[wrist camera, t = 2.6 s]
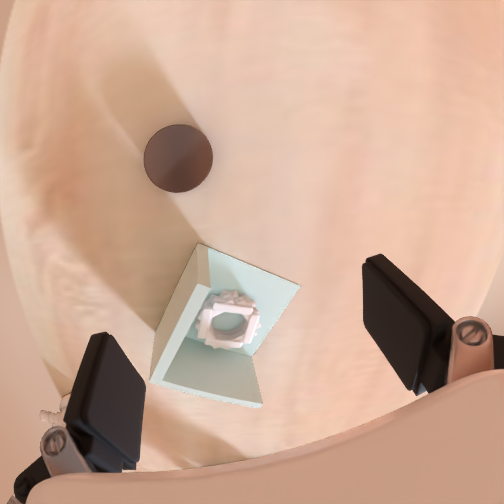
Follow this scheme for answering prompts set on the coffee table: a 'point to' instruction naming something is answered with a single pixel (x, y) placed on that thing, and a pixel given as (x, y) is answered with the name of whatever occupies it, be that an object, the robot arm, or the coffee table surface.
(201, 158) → the brown cylinder
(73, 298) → the coffee table surface
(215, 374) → the right angle wall
